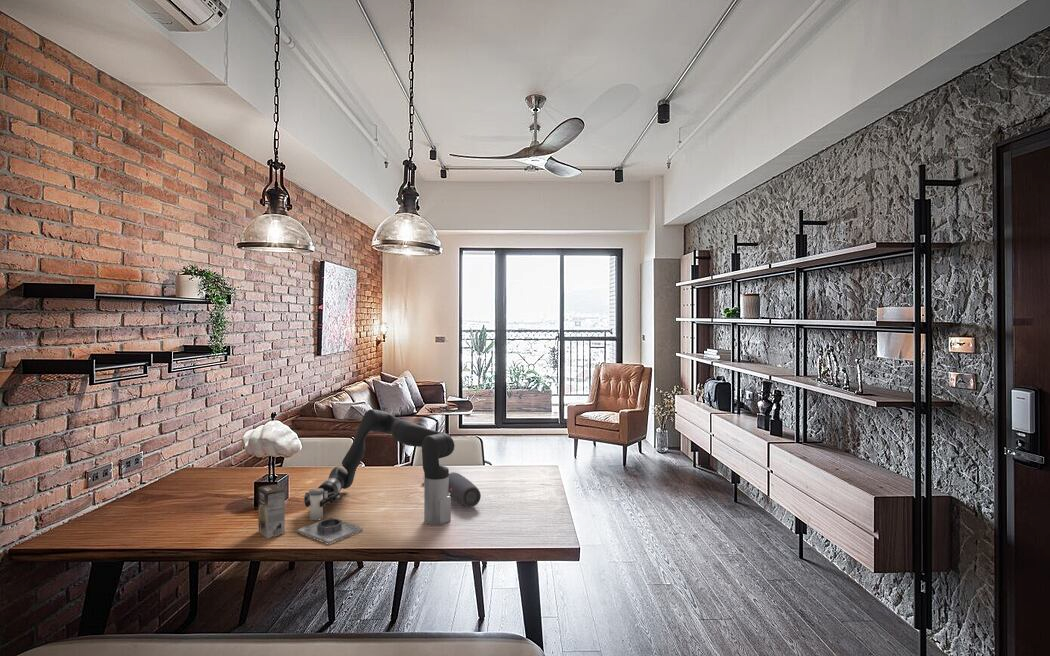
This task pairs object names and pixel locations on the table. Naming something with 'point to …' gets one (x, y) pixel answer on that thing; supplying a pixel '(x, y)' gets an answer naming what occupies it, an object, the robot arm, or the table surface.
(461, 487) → the bluetooth speaker
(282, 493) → the coffee box
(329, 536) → the hub plate
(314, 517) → the grey capped jar
